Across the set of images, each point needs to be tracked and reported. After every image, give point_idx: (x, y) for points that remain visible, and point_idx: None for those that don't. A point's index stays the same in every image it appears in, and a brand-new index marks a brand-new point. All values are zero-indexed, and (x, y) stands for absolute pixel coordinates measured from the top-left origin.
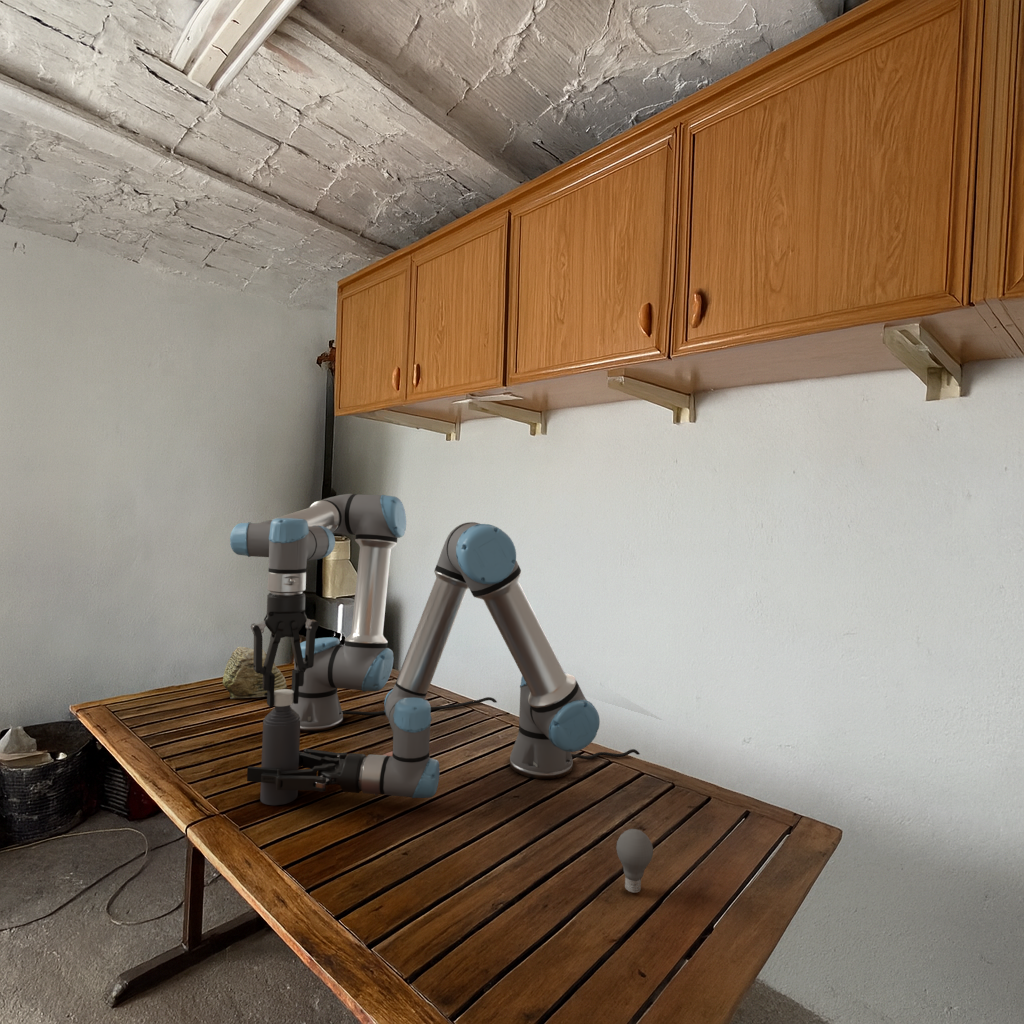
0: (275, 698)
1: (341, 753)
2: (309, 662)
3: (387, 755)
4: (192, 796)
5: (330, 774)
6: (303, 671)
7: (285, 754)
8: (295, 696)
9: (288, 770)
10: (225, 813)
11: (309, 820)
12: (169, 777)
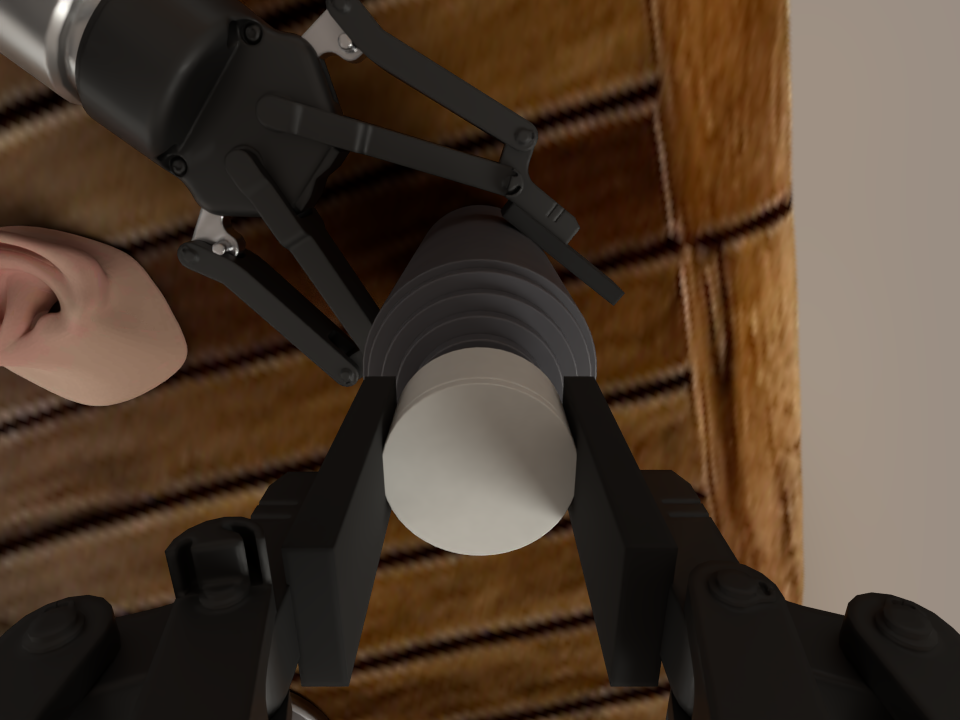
0: (559, 407)
1: (202, 265)
2: (43, 671)
3: (23, 338)
4: (720, 404)
5: (296, 44)
6: (216, 527)
7: (479, 229)
8: (380, 403)
9: (462, 221)
10: (666, 235)
11: (424, 26)
12: (739, 555)
